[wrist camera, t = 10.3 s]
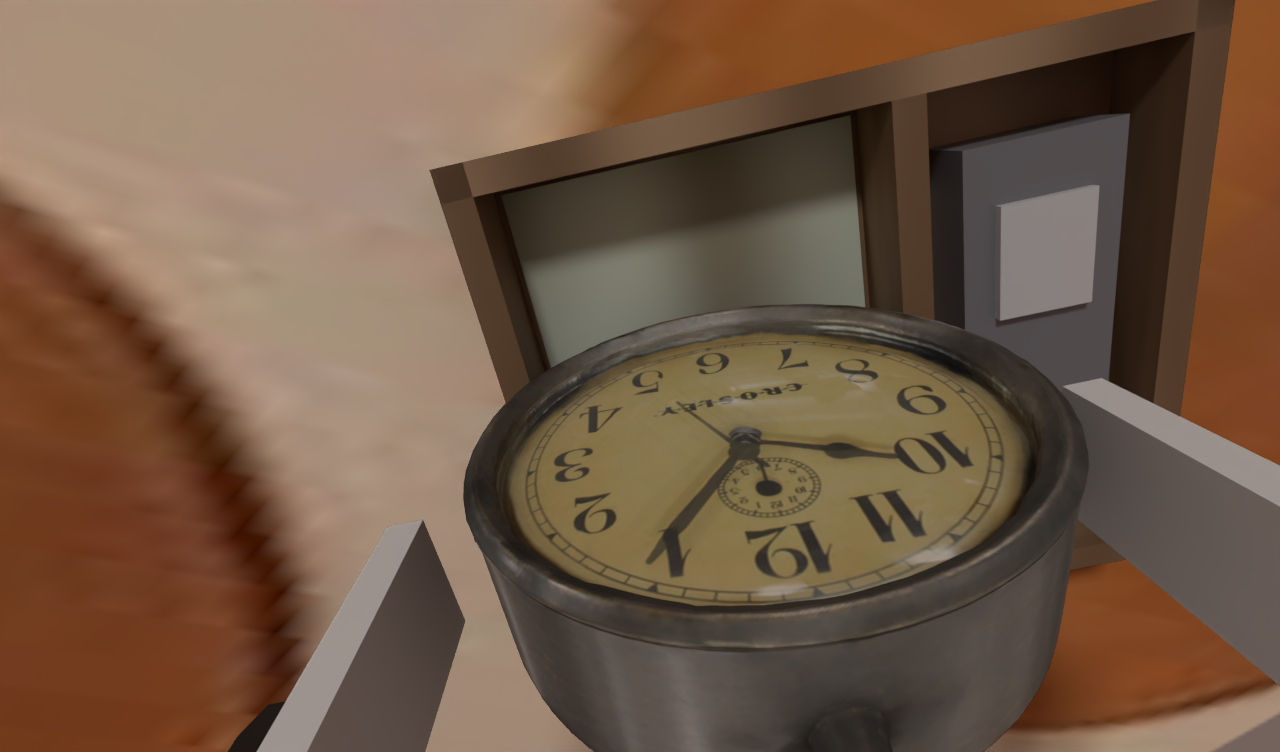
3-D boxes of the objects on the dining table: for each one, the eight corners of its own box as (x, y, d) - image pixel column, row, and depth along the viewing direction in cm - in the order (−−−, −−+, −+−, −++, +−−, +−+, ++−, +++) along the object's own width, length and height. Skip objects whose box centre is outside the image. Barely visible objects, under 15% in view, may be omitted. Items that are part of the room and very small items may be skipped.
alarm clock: (885, 267, 18) (2496, 1072, 2) (889, 431, 20) (1793, 1433, 4) (517, 331, 18) (-33, 1360, 3) (557, 486, 20) (356, 1571, 5)
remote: (936, 486, 21) (972, 525, 18) (924, 149, 17) (968, 151, 14) (1055, 463, 20) (1105, 500, 18) (1072, 116, 16) (1138, 113, 14)
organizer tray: (593, 591, 23) (589, 659, 20) (463, 164, 17) (429, 170, 14) (1088, 496, 22) (1162, 553, 19) (1124, 10, 16) (1237, -19, 13)
